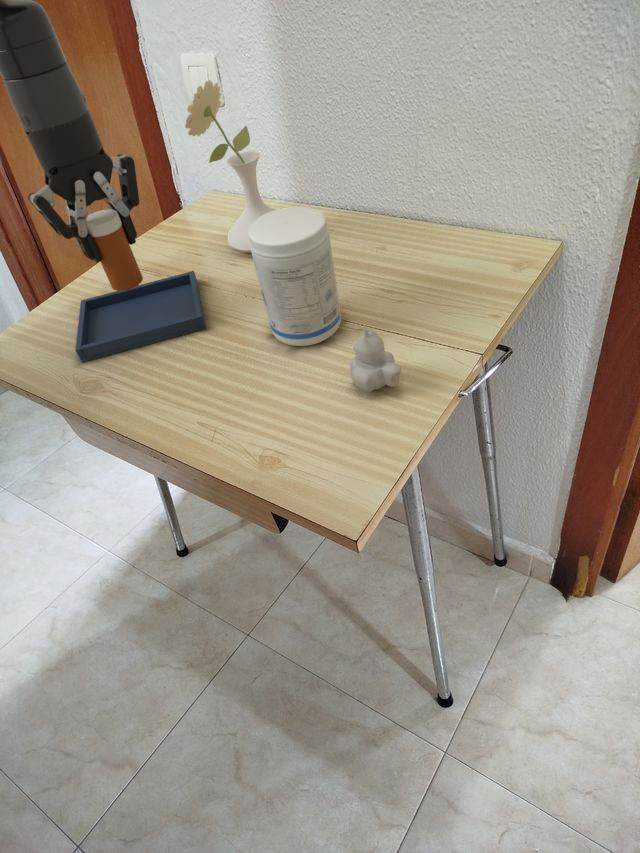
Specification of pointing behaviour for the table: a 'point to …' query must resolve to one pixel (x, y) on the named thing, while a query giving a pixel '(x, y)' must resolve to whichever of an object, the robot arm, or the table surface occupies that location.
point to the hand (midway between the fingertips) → (113, 250)
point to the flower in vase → (230, 161)
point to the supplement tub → (296, 274)
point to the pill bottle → (114, 249)
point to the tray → (139, 316)
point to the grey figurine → (373, 363)
